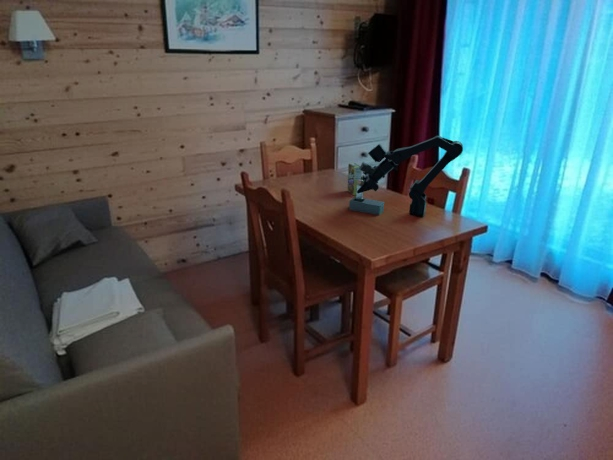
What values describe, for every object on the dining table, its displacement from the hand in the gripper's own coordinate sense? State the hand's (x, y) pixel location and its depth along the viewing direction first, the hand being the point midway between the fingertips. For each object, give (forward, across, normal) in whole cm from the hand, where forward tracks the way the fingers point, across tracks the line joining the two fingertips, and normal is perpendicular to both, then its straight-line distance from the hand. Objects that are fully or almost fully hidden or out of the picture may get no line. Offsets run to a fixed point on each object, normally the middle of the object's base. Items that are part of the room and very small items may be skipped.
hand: (356, 191), depth 216 cm
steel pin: (+4, 0, +6) cm, 7 cm away
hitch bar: (+3, +2, +10) cm, 10 cm away
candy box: (+6, -26, +7) cm, 27 cm away
